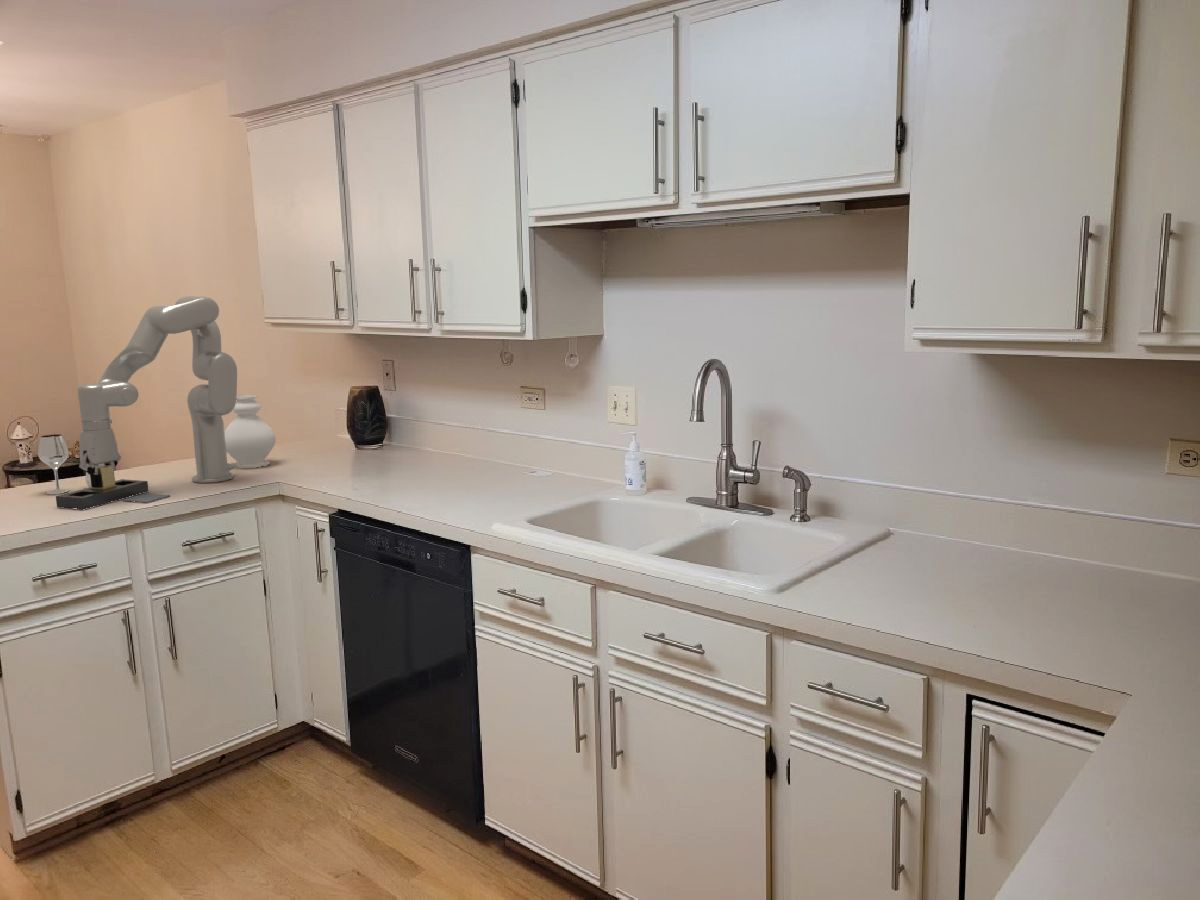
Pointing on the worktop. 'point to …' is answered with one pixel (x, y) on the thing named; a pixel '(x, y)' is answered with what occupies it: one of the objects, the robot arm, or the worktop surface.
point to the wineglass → (53, 455)
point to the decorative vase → (248, 434)
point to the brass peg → (106, 477)
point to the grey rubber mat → (146, 497)
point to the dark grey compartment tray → (101, 494)
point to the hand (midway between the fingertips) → (103, 484)
